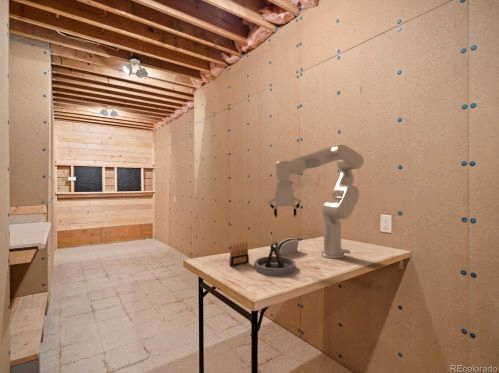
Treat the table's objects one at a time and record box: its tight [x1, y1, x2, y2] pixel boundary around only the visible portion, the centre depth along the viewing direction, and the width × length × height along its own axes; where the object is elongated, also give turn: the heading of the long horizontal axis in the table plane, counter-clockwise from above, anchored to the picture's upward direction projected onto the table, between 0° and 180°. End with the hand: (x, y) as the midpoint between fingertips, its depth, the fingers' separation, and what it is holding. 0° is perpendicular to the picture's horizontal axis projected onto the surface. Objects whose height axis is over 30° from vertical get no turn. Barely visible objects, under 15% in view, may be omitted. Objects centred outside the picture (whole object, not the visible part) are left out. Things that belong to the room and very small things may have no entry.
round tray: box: [253, 255, 296, 277], centre depth 127 cm, size 20×20×3 cm
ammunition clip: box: [228, 240, 250, 268], centre depth 133 cm, size 11×2×12 cm, turn 119°
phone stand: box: [265, 241, 284, 268], centre depth 127 cm, size 9×6×12 cm, turn 75°
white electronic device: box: [273, 237, 300, 256], centre depth 153 cm, size 17×5×10 cm, turn 131°
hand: (285, 216), depth 135 cm, fingers open, 9 cm apart
